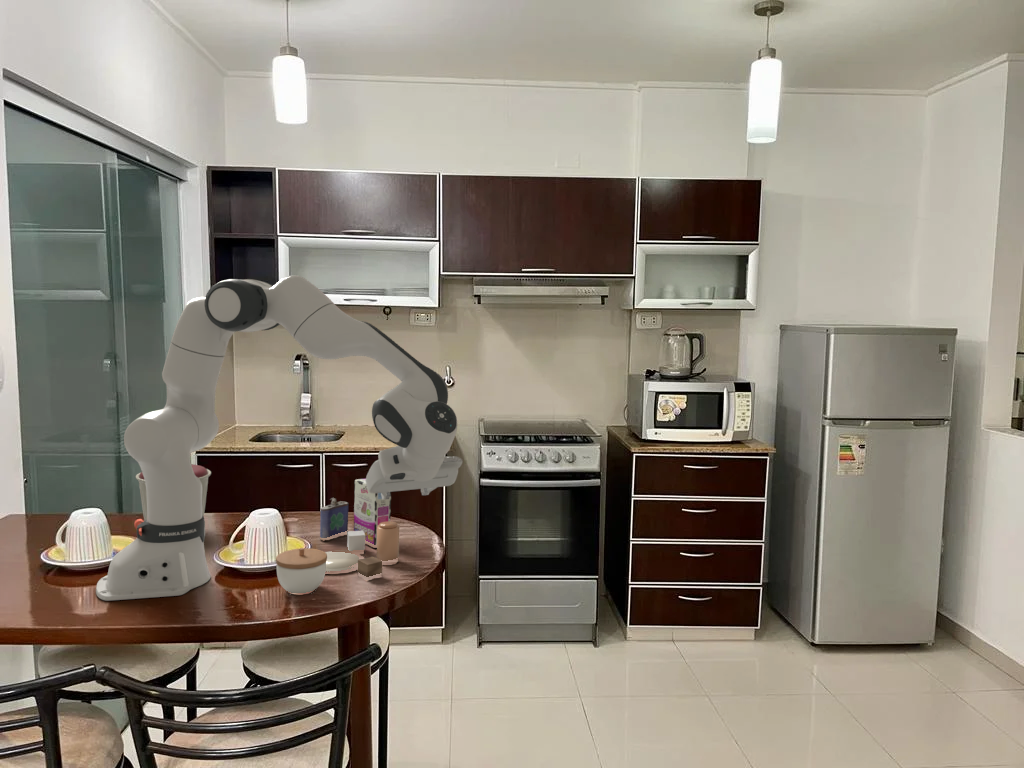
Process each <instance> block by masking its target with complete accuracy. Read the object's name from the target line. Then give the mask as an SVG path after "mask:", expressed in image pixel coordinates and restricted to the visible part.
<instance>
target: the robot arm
mask: <svg viewBox="0 0 1024 768" xmlns="http://www.w3.org/2000/svg"><path fill="white" fill-rule="evenodd" d="M279 326H282V327H283V328H284V329H285V330H286V332H288V334H290V336H291V337H292V338H293V339H294V341H296V342H297V343H298V344H299V345H300V346H301V347H302V348H303V349H304V350H305V351H306V352H307V353H308V354H310V355H311V356H313V357H315V358H316V359H322V360H337V359H342V358H343V359H344V358H348V357H357V356H358V357H367V358H371V359H373V360H374V361H377V363H379V364H380V365H381V366H382V367H384V368H385V369H386V370H387V371H389V373H391V374H392V375H394V377H396V378H397V379H398V380H399V381H401V382H400V383H399V384H397V385H396V386H395V387H393V388H391V389H390V390H388V391H387V392H385V393H384V394H383V395H381V396H380V397H379V398H378V399H377V400H375V401H374V403H372V407H371V418H372V421H373V425H374V427H375V429H376V431H377V432H378V433H379V434H380V436H381V437H383V438H384V439H385V440H387V441H389V442H390V443H392V444H394V445H395V446H392V447H390V448H385V449H383V450H380V451H379V452H378V454H377V455H378V456H377V457H378V459H377V460H375V461H374V462H373V463H372V464H371V466H370V468H369V470H368V472H367V474H366V477H365V478H366V484H367V488H368V491H369V492H370V493H372V494H374V493H381V496H382V500H385V499H389V497H390V496H391V497H392V494H391V495H390V493H389V492H391V493H392V492H401V491H410V490H420V493H421V496H429V495H430V493H431V492H432V491H434V490H436V489H437V488H440V487H441V488H443V487H450V486H451V485H453V484H455V482H456V480H457V478H458V474H459V468H460V467H461V466H462V464H463V458H461V457H459V456H456V455H454V456H446V455H447V454H448V452H449V451H450V449H451V448H452V447H451V446H452V445H453V443H454V439H455V437H456V434H457V430H458V418H457V414H456V412H455V411H454V409H453V408H452V407H451V406H450V405H449V404H448V401H449V390H448V386H447V383H446V381H445V379H444V378H443V377H442V376H441V375H440V374H439V373H438V372H436V371H434V369H432V368H430V367H428V366H427V365H425V364H423V363H421V362H420V361H419V360H417V359H416V358H415V357H414V356H412V355H411V354H410V353H409V352H407V351H406V350H405V349H404V348H403V347H401V346H400V345H399V344H398V343H396V342H395V341H394V339H392V338H390V337H389V336H388V335H387V334H385V333H384V332H383V331H382V330H380V329H379V328H378V327H376V326H375V325H373V324H372V323H369V322H367V321H361V320H358V319H356V318H354V317H352V316H351V315H349V314H348V313H346V312H345V311H343V310H342V309H340V308H339V307H338V306H337V305H336V304H335V303H334V302H333V301H332V300H331V299H330V297H328V296H327V295H326V294H325V293H324V292H323V291H322V290H320V289H319V288H318V287H317V286H315V284H313V283H312V282H311V281H309V280H308V279H306V278H305V277H303V276H301V275H297V274H296V275H295V274H293V275H288V276H285V277H283V278H281V279H280V280H279V281H278V282H276V283H275V284H273V283H270V282H268V281H261V280H257V279H253V278H252V279H251V278H247V279H246V278H245V279H238V278H228V279H224V280H221V281H219V282H217V283H215V284H214V285H212V286H211V287H210V288H209V289H208V290H207V293H206V294H205V296H200V297H195V298H192V299H190V300H189V301H188V302H187V303H186V305H185V306H184V308H183V310H182V312H181V314H180V315H179V318H178V320H177V323H176V325H175V328H174V330H173V334H172V337H171V340H170V344H169V347H168V352H167V354H166V357H165V360H164V365H163V369H162V371H161V377H162V380H163V383H164V384H165V385H166V403H165V406H164V407H163V408H161V409H157V410H152V411H149V412H146V413H144V414H142V415H141V416H139V417H137V418H135V419H134V420H133V421H132V422H131V423H130V424H128V426H127V427H126V429H125V431H124V434H123V442H124V443H123V444H124V448H125V451H126V452H127V453H128V454H129V456H130V457H131V458H133V460H135V461H136V463H138V466H139V468H140V470H141V472H142V473H143V476H144V480H145V484H146V491H147V520H145V521H144V519H142V518H138V519H136V520H134V528H135V530H136V538H135V539H134V540H133V541H132V542H130V544H128V545H126V546H125V547H123V549H121V550H120V551H118V552H117V553H116V554H115V555H114V556H113V557H112V559H111V561H110V564H109V567H108V572H107V575H105V576H103V577H101V578H100V579H99V580H98V581H97V583H96V587H95V594H96V596H97V597H98V598H99V599H100V600H102V601H106V602H107V601H120V600H121V601H122V600H135V599H137V600H138V599H149V598H160V597H161V598H162V597H164V598H165V597H174V596H175V597H176V596H182V595H185V594H186V593H188V592H189V591H190V590H193V589H195V588H197V587H200V586H202V585H204V584H205V583H207V582H208V581H210V579H211V573H210V570H209V567H208V563H207V559H206V552H205V545H204V544H205V543H204V542H205V537H206V521H205V515H204V516H203V515H202V483H201V481H200V479H199V478H198V477H196V476H195V474H194V472H193V469H192V465H191V464H192V462H191V461H192V460H191V453H194V452H197V451H200V450H202V449H204V448H205V447H206V446H208V445H209V444H210V443H211V442H212V441H213V440H214V439H215V438H216V437H217V436H218V433H219V430H220V429H219V428H220V422H219V419H218V418H219V417H218V415H217V414H216V412H215V411H216V408H215V407H216V393H217V392H216V391H217V390H216V389H217V385H218V381H219V378H220V373H221V370H222V366H223V364H224V360H225V357H226V353H227V348H228V345H229V342H230V340H231V339H232V336H233V334H234V333H236V332H238V333H239V332H241V333H255V332H258V331H259V332H261V331H269V330H272V329H274V328H277V327H279Z"/></svg>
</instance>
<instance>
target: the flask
mask: <svg viewBox="0 0 1024 768" xmlns="http://www.w3.org/2000/svg"><path fill="white" fill-rule="evenodd" d="M329 500H330V501H331V502H330V504H328V505H326V506H322V507H320V519H319V520H320V521H319V522H320V524H319V526H320V528H319V538H320V537H321V538H327V537H330V536H332V535H335V534H338V533H341V532H345V531H347V530H348V531H349V528H348V526H349V505H350V504H349V502H347V501H341V500H340V501H337V498H334V497H331V498H330V499H329Z"/></svg>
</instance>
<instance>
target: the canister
mask: <svg viewBox="0 0 1024 768" xmlns="http://www.w3.org/2000/svg"><path fill="white" fill-rule="evenodd" d="M191 465H192V469H193V472H194V474H195V476H196V477H198V478H199V479H200V481H201V483H202V515H203V516H204V517H205V510H206V503H207V494H208V493H207V492H208V484H209V477H210V476H211V475H212V471H211V470H210V469H208V468H206V467H205V466H202V465H200V464H199V465H198V464H192V463H191ZM135 479H136V480H137V481H138V487H139V492H140V503H141V510H142V514H143V521H145V520H147V491H146V484H145V480H144V476H143V473H142V471H140V472H139V473H137V474H136V475H135Z"/></svg>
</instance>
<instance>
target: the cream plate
mask: <svg viewBox="0 0 1024 768" xmlns="http://www.w3.org/2000/svg"><path fill="white" fill-rule="evenodd" d="M324 552H325V553H326V554H327V561H326V571H327V572H328V571H329V572H330V571H341V570H347V569H351V568H352V567H351V566H352V565H354V564H356V563H358V560H360V559H359V557H358V556H357V555H355V554H351V553H345V552H332V551H331V550H329V551H324ZM349 566H350V567H351V568H350V567H349ZM348 567H349V568H348ZM353 568H354V567H353Z"/></svg>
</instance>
